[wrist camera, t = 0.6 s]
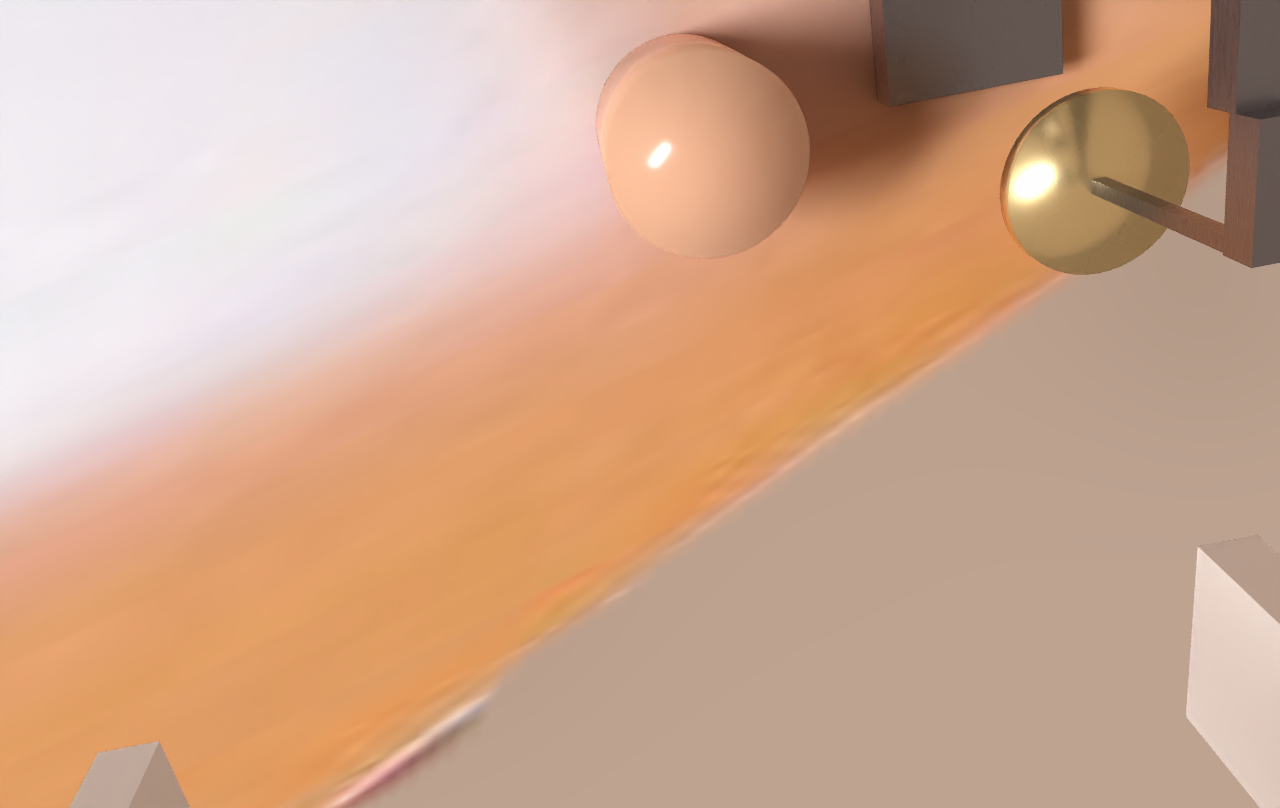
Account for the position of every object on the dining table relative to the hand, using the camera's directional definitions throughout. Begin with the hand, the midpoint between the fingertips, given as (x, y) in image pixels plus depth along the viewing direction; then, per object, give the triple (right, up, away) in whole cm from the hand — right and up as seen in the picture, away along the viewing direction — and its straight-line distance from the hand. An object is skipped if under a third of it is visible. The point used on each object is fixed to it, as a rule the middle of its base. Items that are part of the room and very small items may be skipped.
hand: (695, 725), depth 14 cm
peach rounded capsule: (+1, +14, +24) cm, 28 cm away
